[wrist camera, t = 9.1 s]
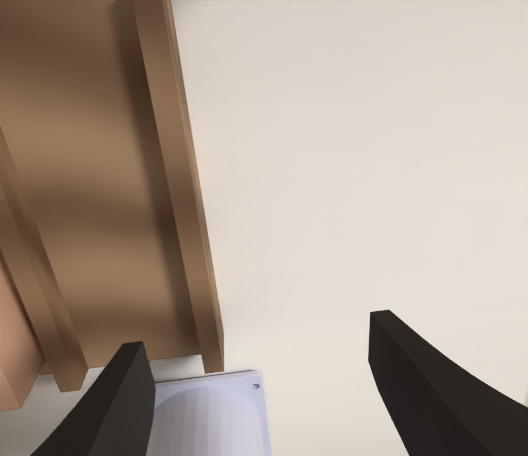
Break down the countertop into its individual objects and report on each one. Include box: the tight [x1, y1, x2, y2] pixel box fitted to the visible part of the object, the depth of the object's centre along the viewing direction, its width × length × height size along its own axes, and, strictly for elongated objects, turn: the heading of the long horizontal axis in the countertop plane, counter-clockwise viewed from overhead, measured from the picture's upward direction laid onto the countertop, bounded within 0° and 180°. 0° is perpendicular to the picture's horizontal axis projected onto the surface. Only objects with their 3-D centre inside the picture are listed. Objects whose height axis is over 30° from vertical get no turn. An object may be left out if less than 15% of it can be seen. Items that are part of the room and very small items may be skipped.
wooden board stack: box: [0, 0, 224, 392], centre depth 19 cm, size 18×16×3 cm
